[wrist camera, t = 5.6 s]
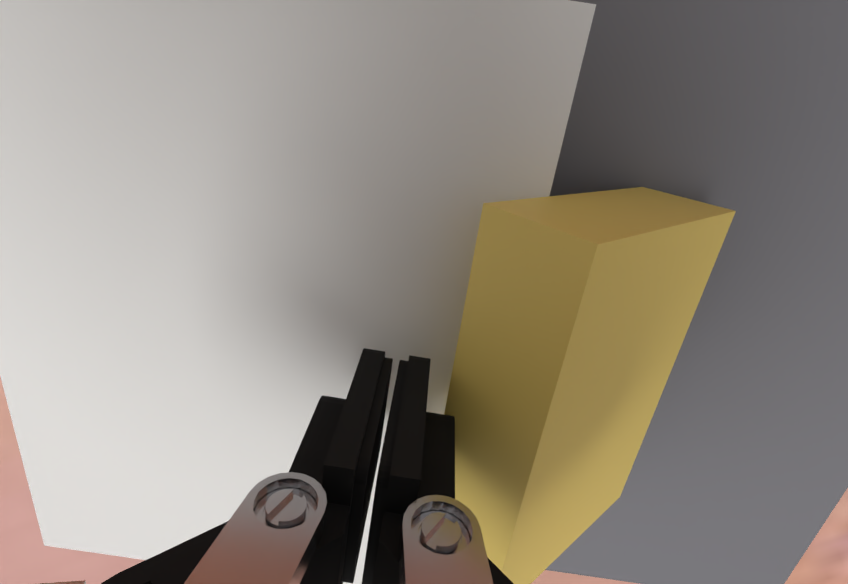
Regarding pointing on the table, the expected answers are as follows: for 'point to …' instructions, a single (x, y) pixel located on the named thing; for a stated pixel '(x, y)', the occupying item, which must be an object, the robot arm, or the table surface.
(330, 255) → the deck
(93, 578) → the table surface
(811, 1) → the mat
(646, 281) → the tile
